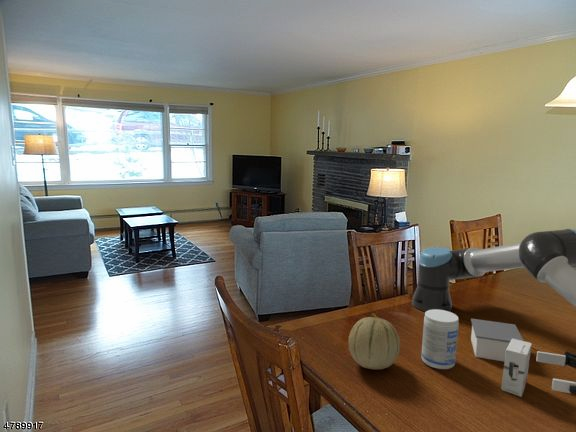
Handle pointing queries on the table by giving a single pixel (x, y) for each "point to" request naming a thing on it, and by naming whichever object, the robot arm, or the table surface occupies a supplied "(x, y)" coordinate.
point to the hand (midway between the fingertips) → (544, 369)
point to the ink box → (516, 367)
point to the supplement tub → (440, 338)
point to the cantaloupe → (374, 343)
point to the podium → (492, 338)
